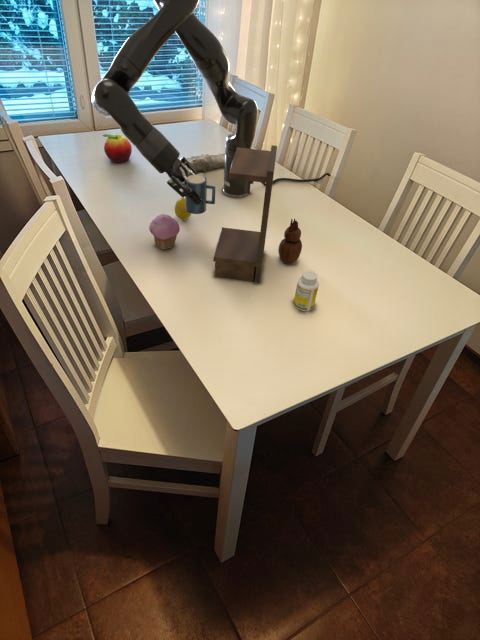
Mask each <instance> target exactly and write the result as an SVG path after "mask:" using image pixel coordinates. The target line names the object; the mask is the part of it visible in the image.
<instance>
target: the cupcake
mask: <svg viewBox="0 0 480 640" xmlns="http://www.w3.org/2000/svg"><path fill="white" fill-rule="evenodd" d="M148 230H149V232H150V234H151V235H152V236H153V240H154V244H155V246H156V247H157V248H160V249H162V250H169V249H171V248H173V247H174V246H175V243H176V239H177V236H178V234H179V233H180V230H181V229H180V224H179V222H178V220H177V219H175V218H174V217H172V216H171V215H169V214H165V213H164V214H163V213H162V214H159V215H157V216H155V217H154V218H153V219H152V220H151V222H149V225H148Z"/></svg>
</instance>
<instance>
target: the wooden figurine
mask: <svg viewBox="0 0 480 640" xmlns="http://www.w3.org/2000/svg"><path fill="white" fill-rule="evenodd" d="M283 236H284V238H282V239H281V241H280V243H279V244H278V251H277V252H278V256H279V259H280V261H281V262H282V263H284V264H286V265H287V264H288V265H291V264H295V262H297V261H298V260H299V258H300V256H301V253H302V249H303V243H302V240H301V236H302V230H301V228H299V222H298V220H296V218H295V217H294V219H293V218H291V219H290V223H289V226H288V227H287V228H286V229H285V230H284V234H283Z"/></svg>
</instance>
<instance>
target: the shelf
mask: <svg viewBox="0 0 480 640" xmlns="http://www.w3.org/2000/svg"><path fill="white" fill-rule="evenodd" d="M277 153H278V145H270V150H267V149H266V150H264V149H256V148H251V149H248V148H239V147H237V149H236V152H235V155H234V159H233V162H232V165H231V168H230V171H229V179H237V180H246V181H254V182H256V183H261V182H263V183H266V186H265V189H264V196H263V197H264V198H263V205H262V214H261V224H260V231H256V230H248V229H240V228H232V227H231V228H230V227H221V229H220V232H219V237H218V239H217V244H216V247H215V250H214V254H213V257H212V259H213V260H212V262H215V263H214V277H215V278H224V279H233V280H240V281H248V282H254V283H257V284H260V283H261V278H262V277H261V276H262V269H263V261H264V254H265V247H266V239H267V238H266V237H267V231H268V230H267V229H268V222H269V214H270V206H271V198H272V193H273V192H272V191H273V184H274V183H273V181H274V175H275V168H276V160H277V159H276V158H277ZM254 182H253V183H254Z"/></svg>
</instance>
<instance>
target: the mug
mask: <svg viewBox="0 0 480 640" xmlns="http://www.w3.org/2000/svg"><path fill="white" fill-rule="evenodd" d="M187 178H188V180H189V185H190V186H191V188H192V189H193V190H194V191H195V192H196V193H197V194H198V195H199V196H200V197H201V198H202V202H201V203H200V204H198V205H196V204H195V203H194V202H193V201H192V200H191V199H190V198H189V197H188V196H185V197H184V198H185V209H186V211H187V212H189V213H191V215H201V214H204V213H205V212H206V211H207V205H215V204H216V185H211V184H208V179H207V177H206V176H204V175H203V174H193V175H188V176H187ZM186 187H187V186H186ZM208 189H209V190H211V200H207V199H208V197H207V196H208Z"/></svg>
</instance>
